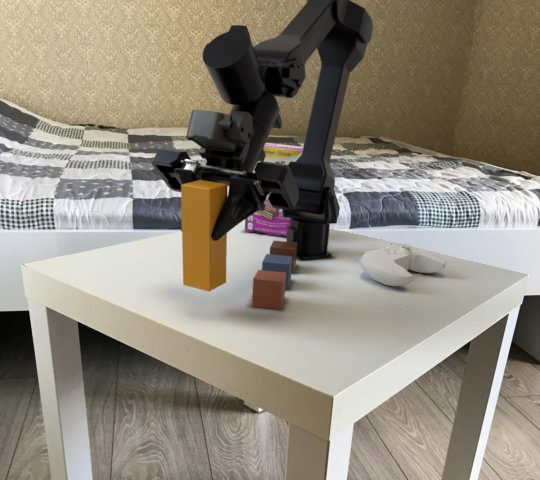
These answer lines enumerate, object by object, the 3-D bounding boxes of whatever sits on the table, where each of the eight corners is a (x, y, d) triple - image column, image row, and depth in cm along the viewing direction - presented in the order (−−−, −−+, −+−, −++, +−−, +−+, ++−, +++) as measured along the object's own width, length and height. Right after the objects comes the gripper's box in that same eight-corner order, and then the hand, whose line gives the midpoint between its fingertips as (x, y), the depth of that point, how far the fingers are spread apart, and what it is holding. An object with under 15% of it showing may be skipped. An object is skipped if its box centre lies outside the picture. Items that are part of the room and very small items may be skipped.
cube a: (272, 263, 96) (273, 240, 94) (296, 265, 96) (297, 242, 94) (268, 271, 93) (270, 246, 91) (293, 273, 92) (295, 249, 90)
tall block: (200, 276, 76) (199, 179, 71) (226, 282, 75) (227, 184, 69) (183, 285, 73) (180, 184, 67) (209, 291, 72) (209, 189, 66)
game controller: (406, 275, 84) (354, 245, 89) (396, 300, 87) (346, 270, 92) (454, 257, 94) (404, 231, 99) (444, 280, 96) (396, 254, 101)
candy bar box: (243, 232, 113) (246, 143, 105) (252, 226, 117) (255, 141, 110) (298, 240, 110) (304, 149, 102) (305, 233, 114) (312, 146, 107)
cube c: (256, 296, 83) (257, 269, 81) (284, 299, 82) (286, 272, 80) (252, 306, 79) (253, 278, 77) (280, 309, 79) (282, 281, 77)
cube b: (265, 278, 89) (266, 253, 88) (290, 281, 89) (292, 256, 87) (261, 287, 86) (262, 261, 84) (287, 290, 85) (289, 264, 84)
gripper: (157, 78, 70) (102, 184, 66) (295, 88, 63) (242, 208, 59) (194, 141, 80) (148, 236, 76) (317, 156, 73) (273, 262, 69)
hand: (198, 235), depth 70 cm, fingers closed on tall block, 4 cm apart
